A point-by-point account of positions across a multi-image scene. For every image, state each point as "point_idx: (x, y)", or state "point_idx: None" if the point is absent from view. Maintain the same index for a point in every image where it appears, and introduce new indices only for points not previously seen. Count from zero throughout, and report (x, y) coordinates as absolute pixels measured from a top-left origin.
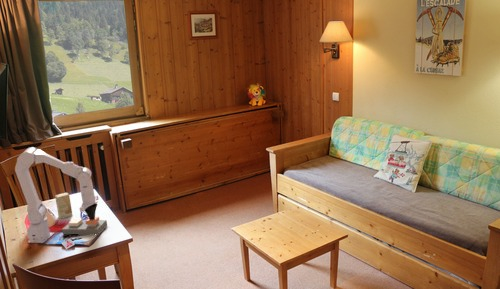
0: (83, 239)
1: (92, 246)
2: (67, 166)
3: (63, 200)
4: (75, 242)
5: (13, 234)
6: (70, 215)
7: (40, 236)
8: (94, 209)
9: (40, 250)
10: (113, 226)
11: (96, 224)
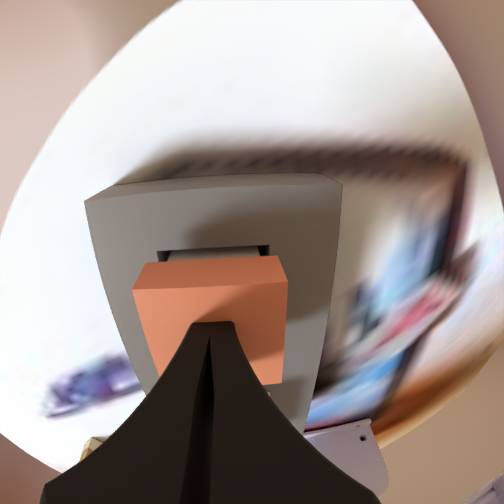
0: (381, 261)
1: (469, 141)
2: None
3: None
4: (410, 290)
5: None
6: (99, 442)
7: (374, 445)
8: (186, 458)
9: (428, 383)
10: (122, 108)
11: (213, 258)
